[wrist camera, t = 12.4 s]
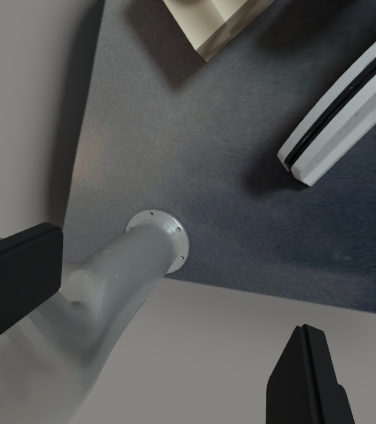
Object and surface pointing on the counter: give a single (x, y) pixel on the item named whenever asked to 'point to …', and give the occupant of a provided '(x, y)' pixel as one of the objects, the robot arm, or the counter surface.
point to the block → (214, 21)
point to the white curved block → (333, 122)
